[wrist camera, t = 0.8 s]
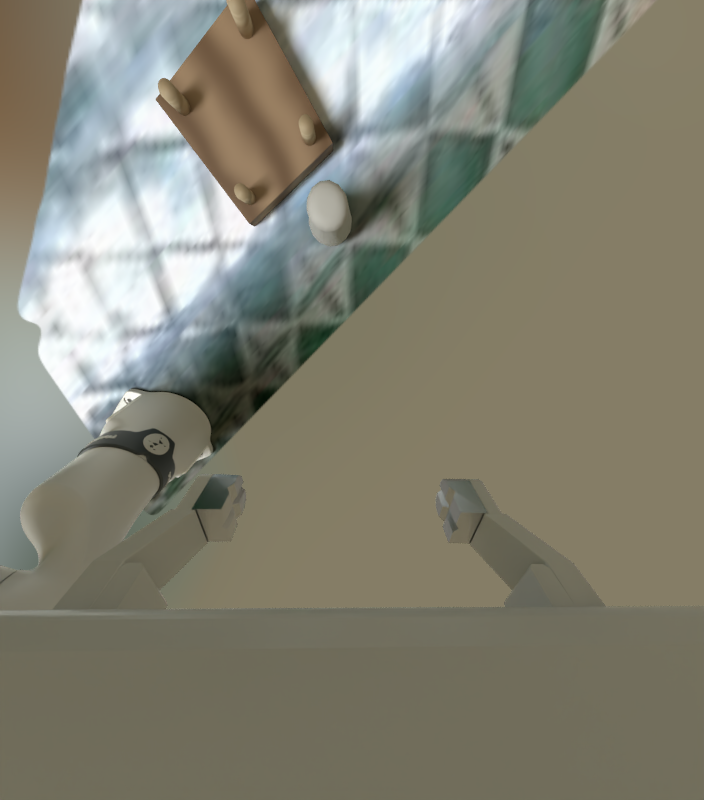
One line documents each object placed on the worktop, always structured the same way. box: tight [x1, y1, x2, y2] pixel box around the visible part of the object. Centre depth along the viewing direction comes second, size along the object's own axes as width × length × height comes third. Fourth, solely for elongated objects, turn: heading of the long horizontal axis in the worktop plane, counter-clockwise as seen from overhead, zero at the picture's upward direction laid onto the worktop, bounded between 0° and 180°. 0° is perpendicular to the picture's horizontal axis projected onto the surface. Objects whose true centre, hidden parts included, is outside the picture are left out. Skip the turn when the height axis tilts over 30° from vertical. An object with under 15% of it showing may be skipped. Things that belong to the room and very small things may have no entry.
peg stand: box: [156, 0, 333, 226], centre depth 29 cm, size 14×14×6 cm
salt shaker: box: [307, 180, 352, 246], centre depth 31 cm, size 6×6×13 cm
